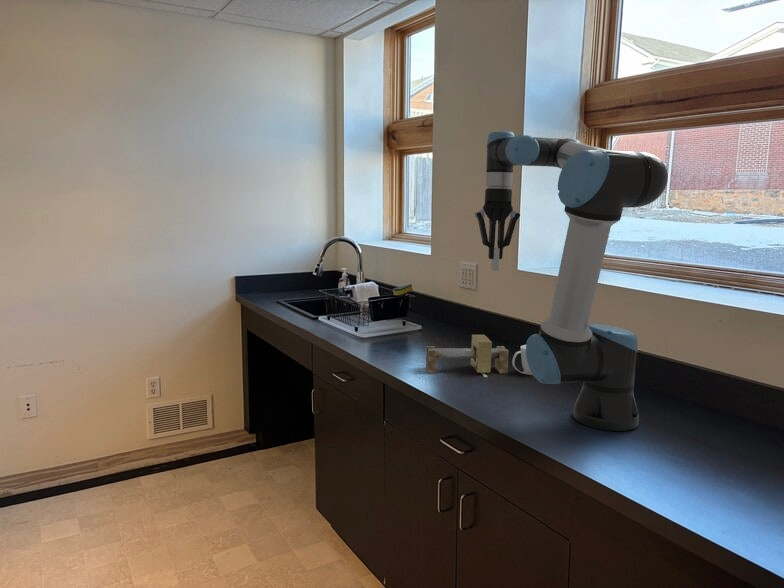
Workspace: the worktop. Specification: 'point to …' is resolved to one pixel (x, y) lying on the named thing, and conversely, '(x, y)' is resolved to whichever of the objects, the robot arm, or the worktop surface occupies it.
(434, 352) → the cradles
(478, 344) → the collar
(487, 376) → the tick mark
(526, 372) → the cup
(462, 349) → the pipe
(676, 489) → the worktop surface
